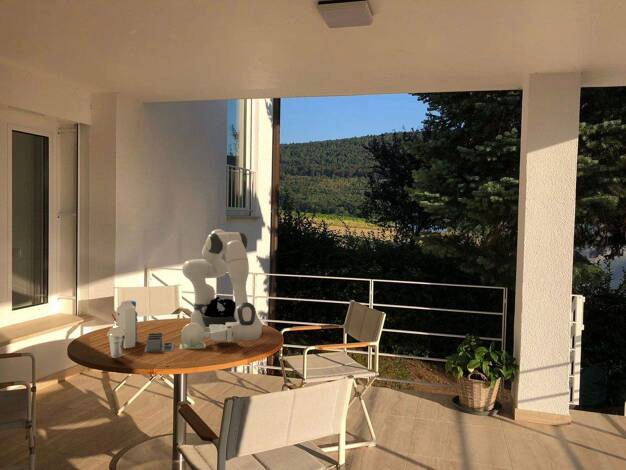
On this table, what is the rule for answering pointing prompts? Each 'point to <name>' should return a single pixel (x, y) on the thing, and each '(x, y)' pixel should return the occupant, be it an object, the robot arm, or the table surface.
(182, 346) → the plate stand
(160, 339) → the dish rack
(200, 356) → the table surface
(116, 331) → the cup with straw
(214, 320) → the bowl of black rocks
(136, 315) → the beverage bottle
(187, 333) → the plate
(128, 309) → the milk
